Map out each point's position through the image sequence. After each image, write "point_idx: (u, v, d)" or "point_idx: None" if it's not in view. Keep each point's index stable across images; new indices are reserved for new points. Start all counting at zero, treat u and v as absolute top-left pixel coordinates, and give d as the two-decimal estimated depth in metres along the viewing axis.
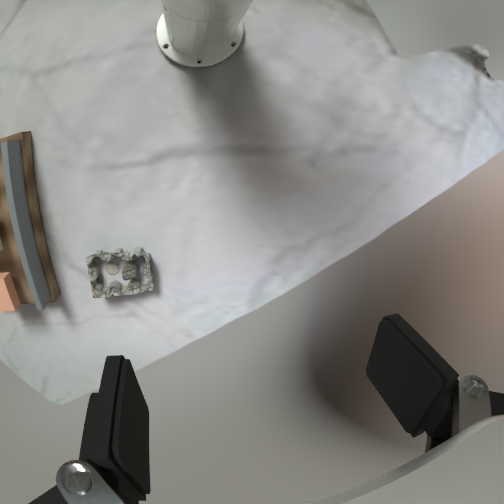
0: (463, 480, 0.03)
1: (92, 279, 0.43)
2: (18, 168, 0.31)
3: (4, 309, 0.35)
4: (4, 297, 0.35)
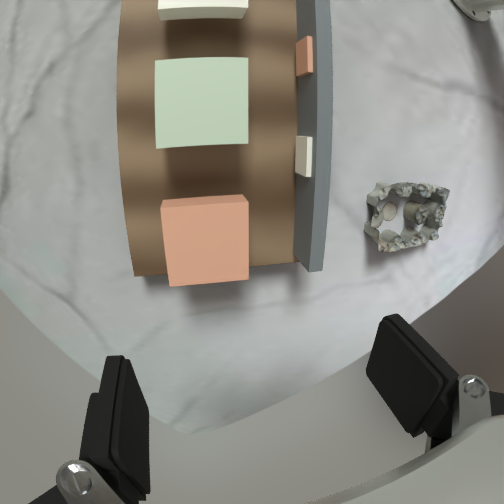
0: (463, 480, 0.03)
1: (374, 225, 0.29)
2: None
3: (215, 277, 0.22)
4: (230, 248, 0.21)
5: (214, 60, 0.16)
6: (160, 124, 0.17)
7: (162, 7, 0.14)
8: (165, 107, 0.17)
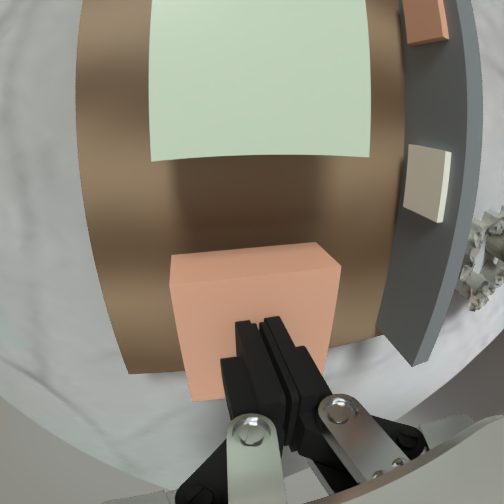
0: (463, 480, 0.03)
1: (464, 277, 0.19)
2: None
3: None
4: (301, 343, 0.12)
5: None
6: (162, 98, 0.06)
7: None
8: (176, 55, 0.06)
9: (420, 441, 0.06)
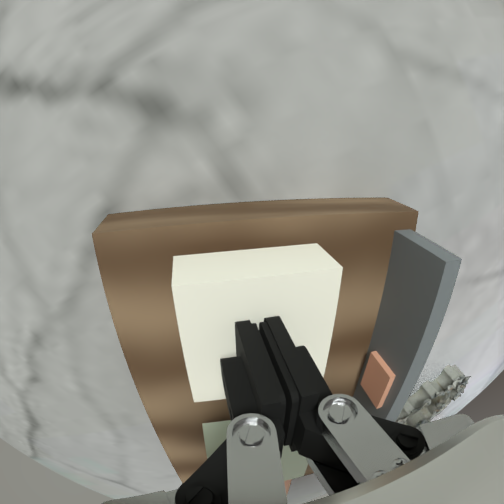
0: (463, 480, 0.03)
1: None
2: None
3: None
4: None
5: None
6: None
7: (200, 399, 0.12)
8: None
9: (420, 441, 0.06)
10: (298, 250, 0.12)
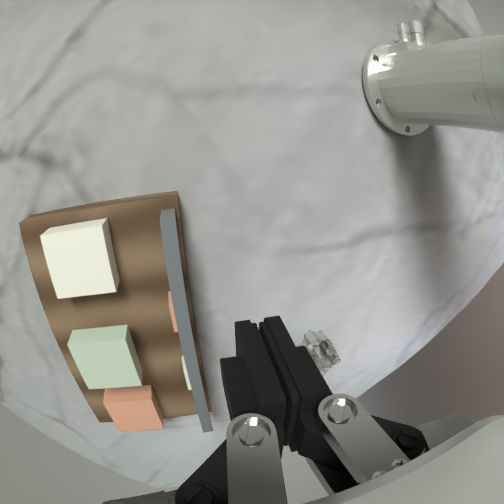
0: (463, 480, 0.03)
1: None
2: (180, 259, 0.26)
3: (144, 428, 0.31)
4: (148, 417, 0.30)
5: (103, 343, 0.23)
6: (86, 378, 0.24)
7: (60, 297, 0.22)
8: (85, 370, 0.24)
9: (420, 441, 0.06)
10: (94, 221, 0.23)
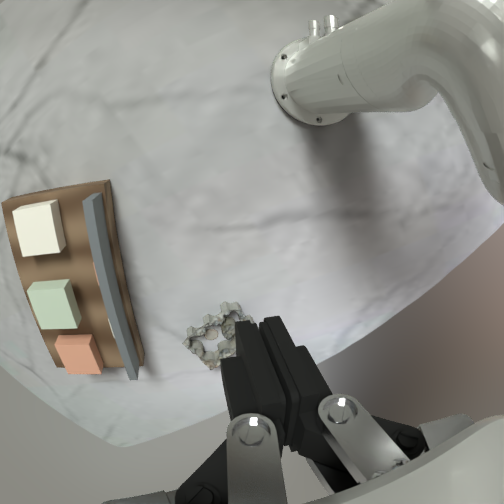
0: (463, 480, 0.03)
1: (200, 355, 0.45)
2: (104, 230, 0.32)
3: (86, 372, 0.37)
4: (88, 361, 0.37)
5: (50, 290, 0.30)
6: (39, 319, 0.31)
7: (24, 255, 0.29)
8: (38, 312, 0.31)
9: (420, 441, 0.06)
10: (48, 201, 0.29)
